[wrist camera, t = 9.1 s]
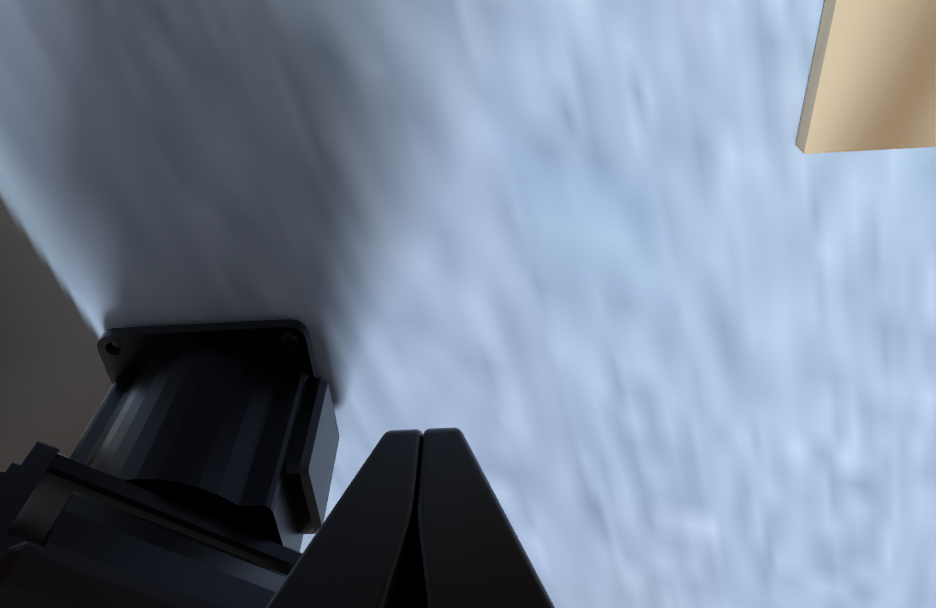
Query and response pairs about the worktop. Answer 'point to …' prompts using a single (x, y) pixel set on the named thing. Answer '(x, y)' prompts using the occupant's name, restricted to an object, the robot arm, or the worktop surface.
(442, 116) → the worktop surface
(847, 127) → the serving board
